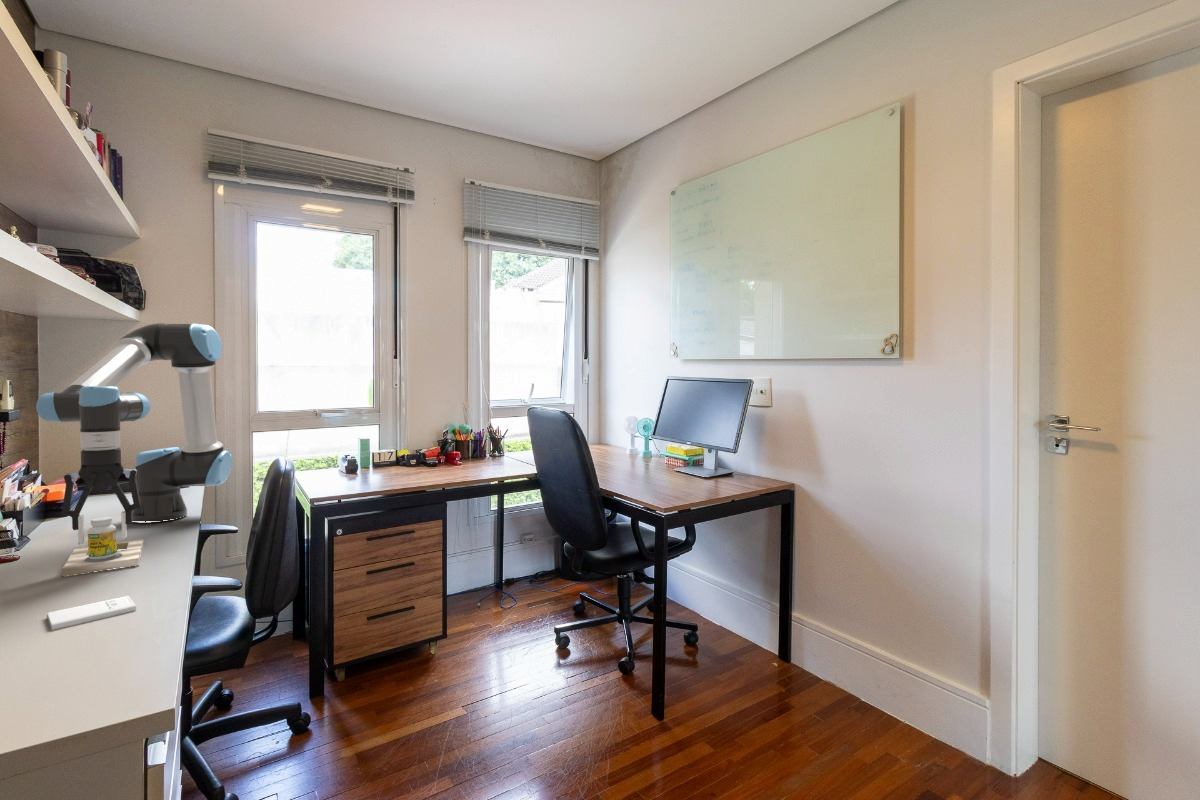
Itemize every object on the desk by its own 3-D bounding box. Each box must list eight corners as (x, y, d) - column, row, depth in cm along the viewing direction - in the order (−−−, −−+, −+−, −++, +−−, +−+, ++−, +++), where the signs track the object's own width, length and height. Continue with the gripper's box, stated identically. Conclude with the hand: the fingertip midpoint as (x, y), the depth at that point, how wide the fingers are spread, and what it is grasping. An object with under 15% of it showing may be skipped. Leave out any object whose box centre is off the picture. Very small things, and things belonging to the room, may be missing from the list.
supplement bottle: (119, 552, 146) (119, 515, 146) (113, 558, 141) (112, 519, 141) (92, 555, 144) (91, 517, 143) (84, 561, 139) (83, 522, 139)
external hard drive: (47, 620, 112) (128, 601, 121) (51, 633, 107) (136, 612, 116) (46, 612, 112) (128, 594, 121) (51, 624, 107) (136, 604, 116)
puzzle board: (75, 555, 151) (75, 546, 151) (143, 546, 159) (143, 538, 159) (62, 577, 135) (62, 567, 134) (138, 566, 143) (138, 556, 143)
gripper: (41, 452, 133) (44, 550, 133) (152, 447, 144) (154, 536, 145) (47, 449, 139) (50, 542, 140) (153, 444, 151) (155, 530, 151)
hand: (103, 539), depth 142 cm, fingers open, 7 cm apart
